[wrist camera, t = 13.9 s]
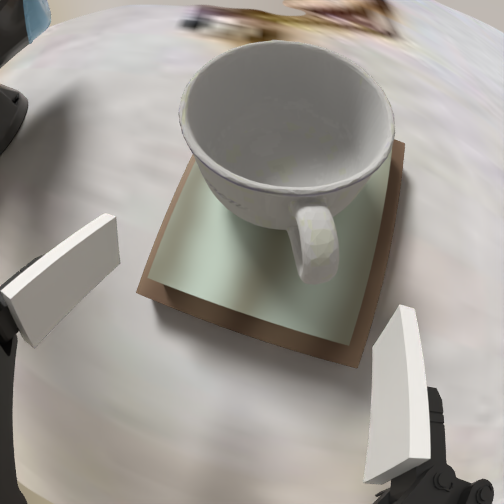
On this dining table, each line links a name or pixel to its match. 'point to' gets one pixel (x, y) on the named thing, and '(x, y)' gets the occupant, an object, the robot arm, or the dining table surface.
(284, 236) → the block stand
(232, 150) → the teacup
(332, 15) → the dining table surface
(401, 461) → the robot arm
